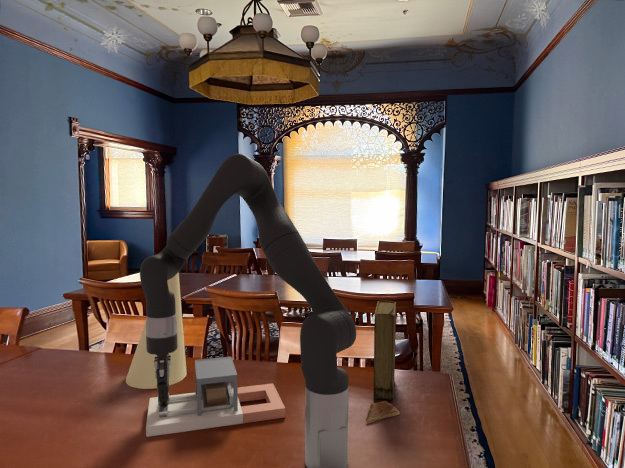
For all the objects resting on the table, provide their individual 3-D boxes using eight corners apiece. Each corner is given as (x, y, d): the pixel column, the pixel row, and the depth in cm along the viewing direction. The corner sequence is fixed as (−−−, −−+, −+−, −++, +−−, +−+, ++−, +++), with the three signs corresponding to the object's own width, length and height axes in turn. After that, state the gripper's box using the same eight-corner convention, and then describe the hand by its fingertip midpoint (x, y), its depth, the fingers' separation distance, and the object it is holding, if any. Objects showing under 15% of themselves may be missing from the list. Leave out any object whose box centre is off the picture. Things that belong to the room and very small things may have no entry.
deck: (285, 417, 118) (285, 408, 117) (146, 436, 108) (145, 426, 108) (273, 391, 133) (272, 383, 133) (150, 406, 123) (149, 397, 123)
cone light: (171, 390, 134) (168, 273, 131) (113, 386, 136) (109, 271, 133) (202, 360, 158) (200, 260, 155) (152, 357, 160) (149, 259, 157)
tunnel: (237, 410, 116) (237, 374, 115) (197, 416, 113) (196, 379, 112) (231, 388, 129) (231, 356, 128) (195, 393, 126) (194, 360, 125)
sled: (233, 407, 117) (233, 376, 116) (157, 417, 112) (156, 385, 111) (229, 392, 126) (229, 364, 125) (158, 401, 120) (157, 371, 120)
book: (376, 378, 143) (378, 300, 141) (394, 379, 142) (395, 301, 140) (373, 401, 127) (374, 313, 125) (393, 403, 126) (394, 314, 124)
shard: (365, 426, 114) (365, 419, 114) (350, 413, 121) (350, 406, 121) (400, 416, 119) (400, 410, 119) (383, 404, 126) (383, 398, 126)
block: (226, 405, 119) (226, 387, 118) (206, 408, 117) (206, 389, 117) (224, 397, 123) (224, 379, 123) (205, 399, 122) (205, 382, 121)
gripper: (177, 339, 109) (178, 408, 111) (177, 323, 122) (178, 385, 124) (143, 342, 107) (146, 412, 108) (147, 325, 120) (149, 388, 122)
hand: (163, 397), depth 116 cm, fingers closed on sled, 3 cm apart
